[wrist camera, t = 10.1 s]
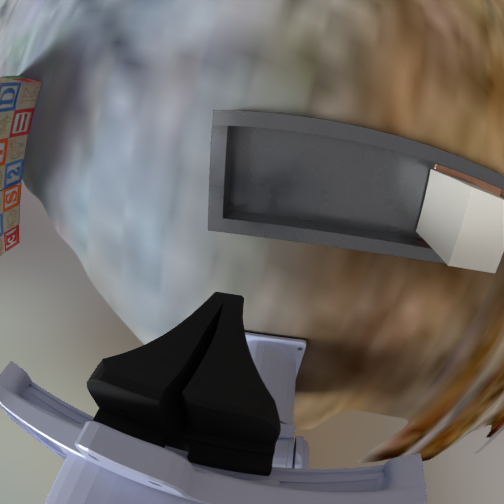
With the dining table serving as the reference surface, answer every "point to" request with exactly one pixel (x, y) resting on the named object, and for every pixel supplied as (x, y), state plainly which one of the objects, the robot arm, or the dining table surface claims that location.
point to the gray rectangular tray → (326, 182)
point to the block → (462, 223)
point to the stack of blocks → (13, 150)
